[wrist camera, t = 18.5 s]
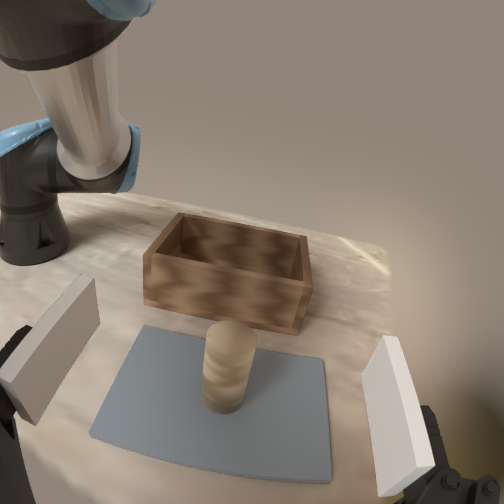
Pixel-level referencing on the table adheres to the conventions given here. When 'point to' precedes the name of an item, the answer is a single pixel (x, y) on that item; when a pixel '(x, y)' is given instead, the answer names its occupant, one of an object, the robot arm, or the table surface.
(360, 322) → the table surface
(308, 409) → the lid
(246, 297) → the brown wooden open box
